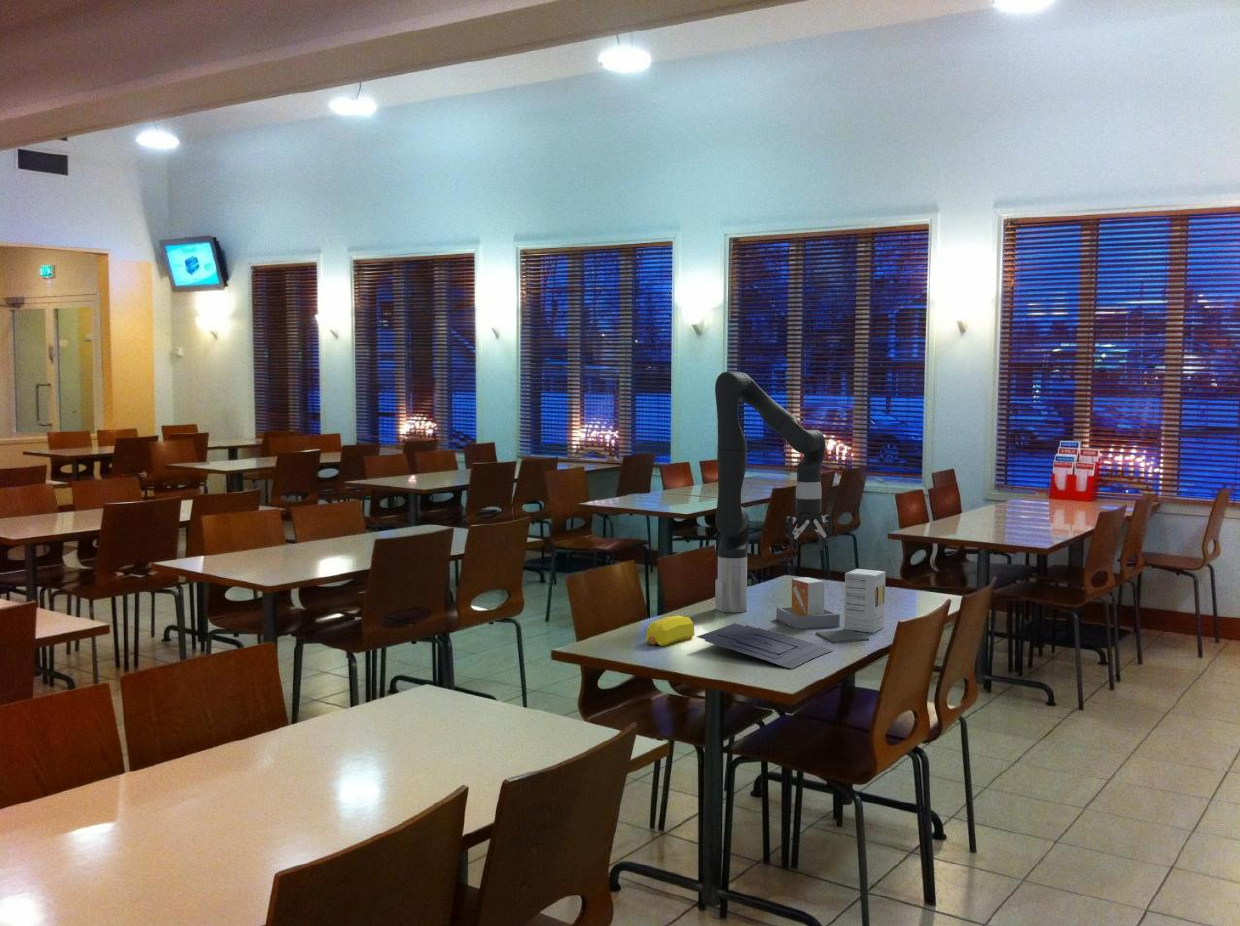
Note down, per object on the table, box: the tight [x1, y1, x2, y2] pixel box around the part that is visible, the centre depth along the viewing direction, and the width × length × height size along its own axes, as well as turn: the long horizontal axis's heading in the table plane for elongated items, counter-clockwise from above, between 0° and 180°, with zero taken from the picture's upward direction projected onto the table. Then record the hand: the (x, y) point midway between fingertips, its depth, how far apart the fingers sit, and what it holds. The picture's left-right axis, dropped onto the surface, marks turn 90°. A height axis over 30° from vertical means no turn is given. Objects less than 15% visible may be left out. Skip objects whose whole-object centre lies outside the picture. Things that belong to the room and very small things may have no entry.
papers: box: [696, 622, 834, 670], centre depth 294 cm, size 24×30×4 cm
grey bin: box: [775, 606, 841, 630], centre depth 329 cm, size 14×14×4 cm
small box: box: [791, 576, 825, 616], centre depth 329 cm, size 8×6×13 cm
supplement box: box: [843, 568, 886, 634], centre depth 321 cm, size 10×9×17 cm
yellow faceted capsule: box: [645, 614, 695, 647], centre depth 306 cm, size 18×7×8 cm
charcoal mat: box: [815, 629, 870, 644], centre depth 310 cm, size 11×11×1 cm
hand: (808, 550), depth 328 cm, fingers open, 8 cm apart
